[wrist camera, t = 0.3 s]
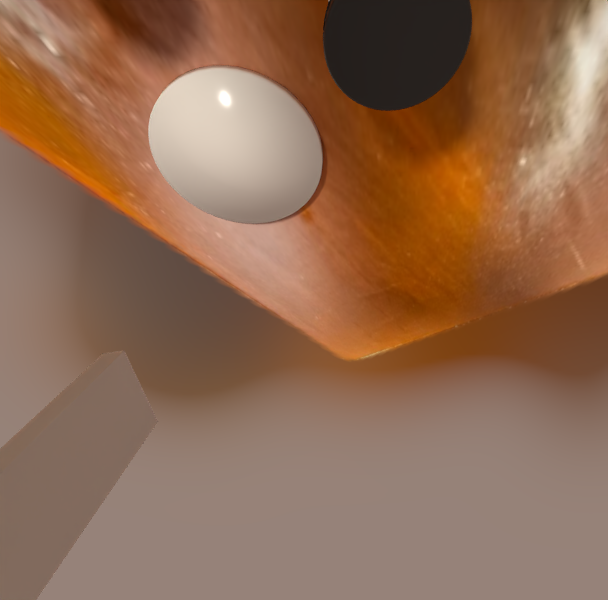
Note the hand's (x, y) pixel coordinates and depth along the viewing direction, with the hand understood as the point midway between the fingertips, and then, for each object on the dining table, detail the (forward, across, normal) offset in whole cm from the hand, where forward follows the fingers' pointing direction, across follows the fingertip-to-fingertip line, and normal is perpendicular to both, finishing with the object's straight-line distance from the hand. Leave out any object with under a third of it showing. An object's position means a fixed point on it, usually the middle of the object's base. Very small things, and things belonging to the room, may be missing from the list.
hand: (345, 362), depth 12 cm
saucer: (+35, -13, +5) cm, 38 cm away
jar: (+29, +4, +14) cm, 33 cm away
